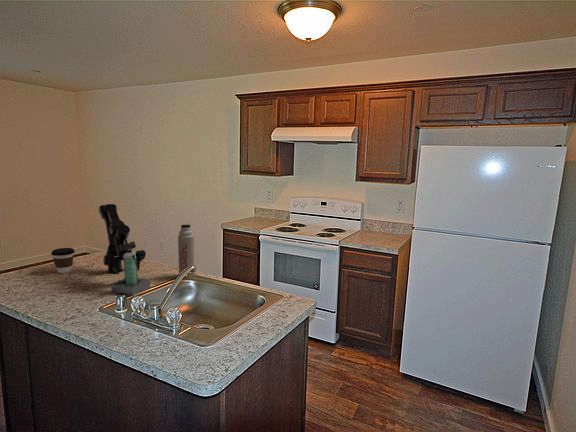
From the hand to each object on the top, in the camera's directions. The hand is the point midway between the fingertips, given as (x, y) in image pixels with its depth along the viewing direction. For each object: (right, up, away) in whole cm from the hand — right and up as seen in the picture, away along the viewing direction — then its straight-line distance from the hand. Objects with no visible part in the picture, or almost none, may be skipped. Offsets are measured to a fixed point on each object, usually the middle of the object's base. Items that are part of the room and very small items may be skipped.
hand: (128, 272), depth 176 cm
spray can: (+2, -8, -1) cm, 9 cm away
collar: (+2, -8, -1) cm, 8 cm away
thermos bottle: (+22, -5, +20) cm, 31 cm away
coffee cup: (-45, -3, +23) cm, 50 cm away
